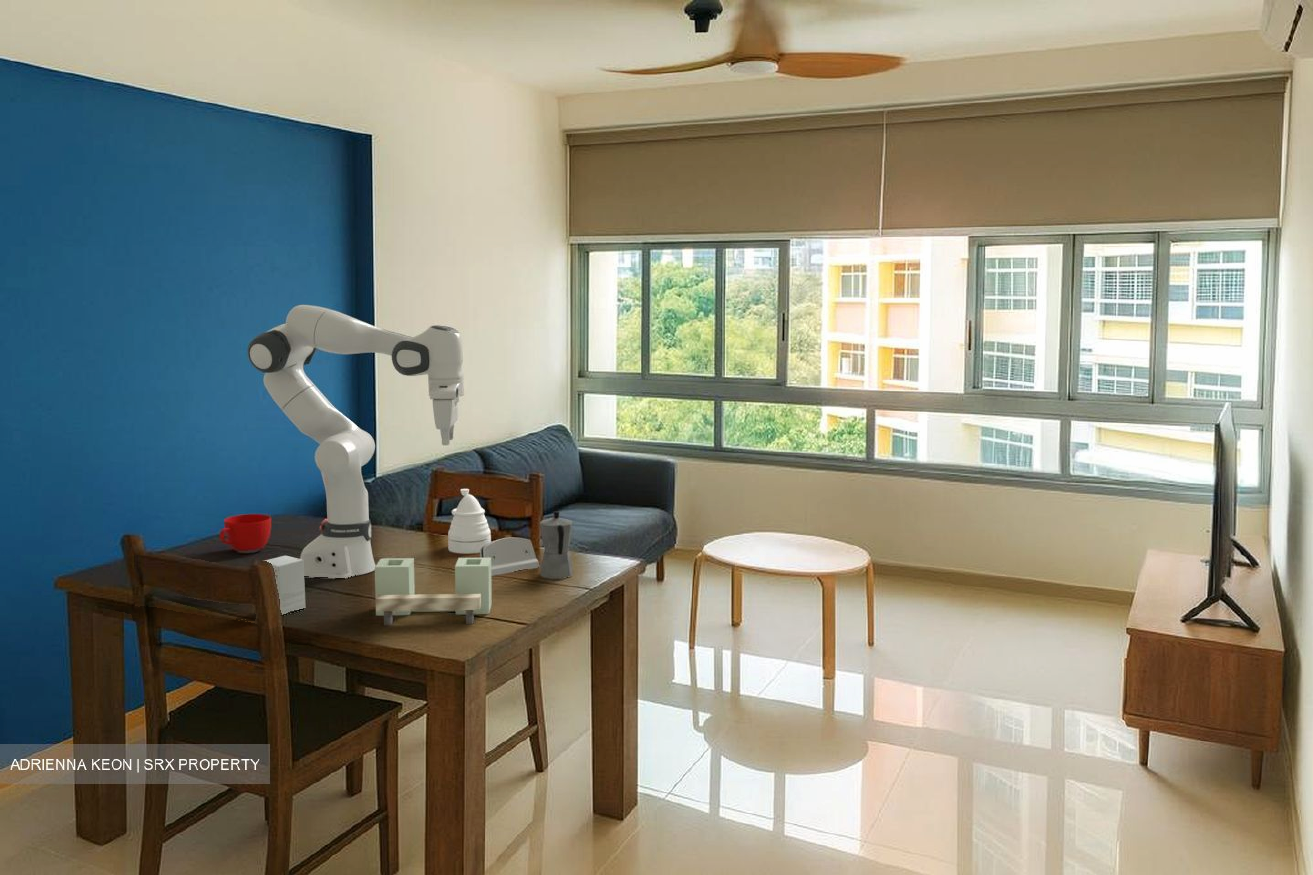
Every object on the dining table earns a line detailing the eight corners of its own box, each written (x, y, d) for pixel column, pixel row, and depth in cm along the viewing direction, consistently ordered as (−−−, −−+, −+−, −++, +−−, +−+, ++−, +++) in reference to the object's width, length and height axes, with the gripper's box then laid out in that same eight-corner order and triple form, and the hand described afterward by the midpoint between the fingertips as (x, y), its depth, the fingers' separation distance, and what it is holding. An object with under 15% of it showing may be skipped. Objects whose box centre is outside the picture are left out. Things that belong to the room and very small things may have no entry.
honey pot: (439, 548, 308) (438, 490, 306) (472, 541, 318) (472, 484, 315) (466, 555, 300) (465, 496, 297) (499, 548, 310) (499, 490, 307)
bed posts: (376, 615, 244) (374, 567, 242) (382, 605, 252) (381, 558, 250) (488, 613, 246) (488, 566, 244) (491, 603, 254) (491, 557, 252)
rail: (376, 625, 237) (375, 598, 236) (378, 621, 240) (378, 594, 239) (479, 624, 239) (479, 597, 238) (481, 620, 241) (480, 593, 241)
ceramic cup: (205, 557, 295) (203, 523, 293) (248, 544, 310) (247, 512, 309) (239, 562, 290) (237, 528, 288) (281, 548, 305) (280, 516, 304)
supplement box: (287, 603, 252) (285, 554, 250) (306, 609, 248) (304, 559, 246) (261, 611, 246) (259, 560, 244) (280, 617, 242) (278, 565, 240)
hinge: (488, 576, 278) (482, 540, 280) (481, 578, 282) (475, 543, 284) (541, 567, 289) (534, 532, 290) (533, 569, 292) (526, 535, 294)
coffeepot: (536, 569, 286) (536, 507, 284) (569, 567, 288) (569, 505, 286) (544, 584, 271) (544, 519, 269) (578, 582, 274) (579, 517, 271)
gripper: (438, 385, 270) (440, 437, 272) (428, 393, 250) (430, 448, 252) (462, 385, 270) (463, 436, 272) (454, 392, 250) (456, 447, 252)
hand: (447, 442), depth 262 cm, fingers open, 8 cm apart
